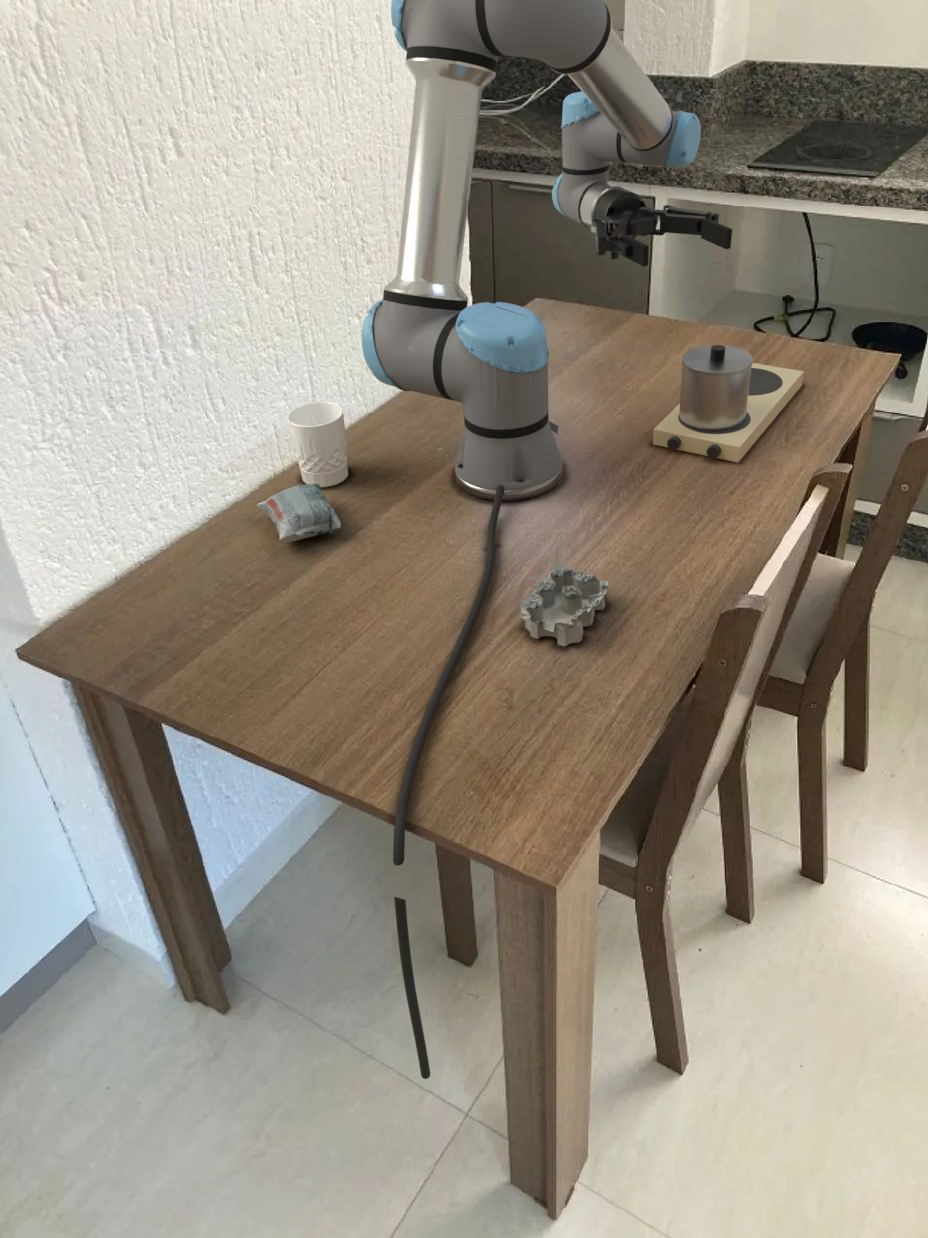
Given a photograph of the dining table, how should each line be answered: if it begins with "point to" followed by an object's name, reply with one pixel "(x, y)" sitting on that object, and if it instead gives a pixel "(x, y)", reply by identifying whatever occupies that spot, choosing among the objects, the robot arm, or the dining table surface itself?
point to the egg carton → (563, 604)
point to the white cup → (319, 442)
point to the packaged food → (300, 513)
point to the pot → (715, 387)
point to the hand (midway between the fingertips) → (688, 247)
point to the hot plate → (764, 404)
